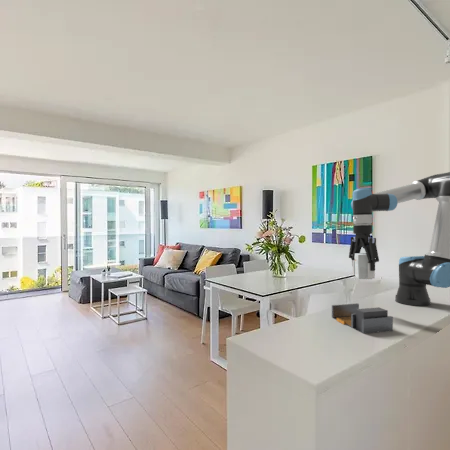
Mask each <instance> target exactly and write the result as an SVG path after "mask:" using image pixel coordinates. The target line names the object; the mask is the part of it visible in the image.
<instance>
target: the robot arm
mask: <svg viewBox="0 0 450 450" xmlns="http://www.w3.org/2000/svg"><path fill="white" fill-rule="evenodd" d="M424 199H425V200H426V199H435V200H436V201H437V202H438V206H437V211H436V216H435V221H434V226H433V232H432V236H431V240H430V245H429V250H428V252H427V253H426V254H424V255H419V256H418V255H416V256H401V257H399V260H398V285H399V286H398V288H397V293H396V294H395V296H394V297H395V302H396V303H399V304H403V305H409V306H419V307H422V306H423V307H425V306H430V305H431V298H430V295H429V293H428V292H429V291H428V290H427V286H432V287H434V288H443V289H444V288H445V289H446V288H450V171H449V172H444V173H443V172H442V173H438V174H433V175H430V176H426V177H424V178H421V179H418V180H414V181H412V182H411V183H410V184H408V185H407V184H406V185H403V186H398V187H395V188H390V189H386V190H383V191H382V190H381V191H378V192H375V193H373V192H372V189H371V188H358V189H355V190H353V191H352V201H351V203H350V206H351V209H352V216H353V217H352V219H353V220H352V223H353V226H352V229H353V230H352V233H353V234H354V235H355V236H351V237H350V245H349V253H348V258H349V259H351V265H352V275H353V276H355V258H354V255H355V253H361V250H362V248H363V249H364V253H366V255H367V257H368V260H369V262H368V279H367V280H373V279H375V277H376V275H375V274H376V273H375V271H376V264H377V263H379V262H380V259H379V258H380V257H379V253H378V248H377V238H376V237H372V236H371V234H372V233H373V225H372V224H373V212H390V211H394V210H395V209H396V208H397V206H398V204H400V203H404V202H408V201H412V200H416V201H417V200H418V201H422V200H424ZM371 259H372V260H371Z"/></svg>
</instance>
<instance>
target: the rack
mask: <svg viewBox="0 0 450 450" xmlns="http://www.w3.org/2000/svg"><path fill="white" fill-rule="evenodd" d="M356 309H360V304H359V303H348V304H347V303H346V304H345V303H343V304H332V305H331V318H332V319H334V320H336V321H337V322H338V323H341V324H342V325H346V326H348V327H349V328H352V329H354V330H355V331H357V332H360V333H361V334H373V333H386V332H393V330H394V325H393V323H394V321H393V319H394V318H393V316H392V315H389V316H385V317H373V318H362V331H360V330H358V329H356Z"/></svg>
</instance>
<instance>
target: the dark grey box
mask: <svg viewBox="0 0 450 450" xmlns="http://www.w3.org/2000/svg"><path fill="white" fill-rule="evenodd" d="M388 314H389V313H388V309H385V308H381V307H366V308H359V309H356V329H358V330H360V331H362V318H373V317H385V316H388Z"/></svg>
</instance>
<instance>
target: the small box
mask: <svg viewBox="0 0 450 450" xmlns="http://www.w3.org/2000/svg"><path fill="white" fill-rule="evenodd" d="M354 258H355V275H354V277H356V278H357V280H369V279H368V262H369V260H368V257H367V255H366V252H360V253H355V255H354ZM371 260H372V259H371Z"/></svg>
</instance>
